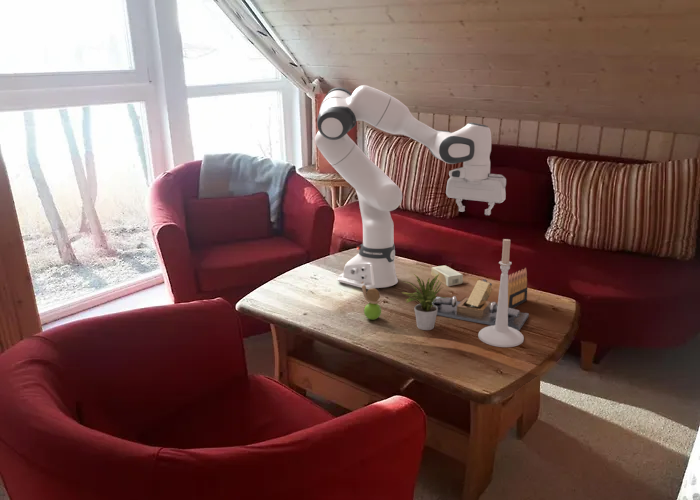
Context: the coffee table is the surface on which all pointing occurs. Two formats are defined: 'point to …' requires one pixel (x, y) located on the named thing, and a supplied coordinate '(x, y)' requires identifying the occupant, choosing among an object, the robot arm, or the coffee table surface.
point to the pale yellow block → (479, 294)
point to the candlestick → (502, 311)
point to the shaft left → (445, 301)
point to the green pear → (371, 303)
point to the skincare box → (447, 275)
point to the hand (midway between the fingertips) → (474, 213)
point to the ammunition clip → (517, 288)
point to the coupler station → (478, 314)
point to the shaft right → (511, 312)
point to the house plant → (425, 303)
